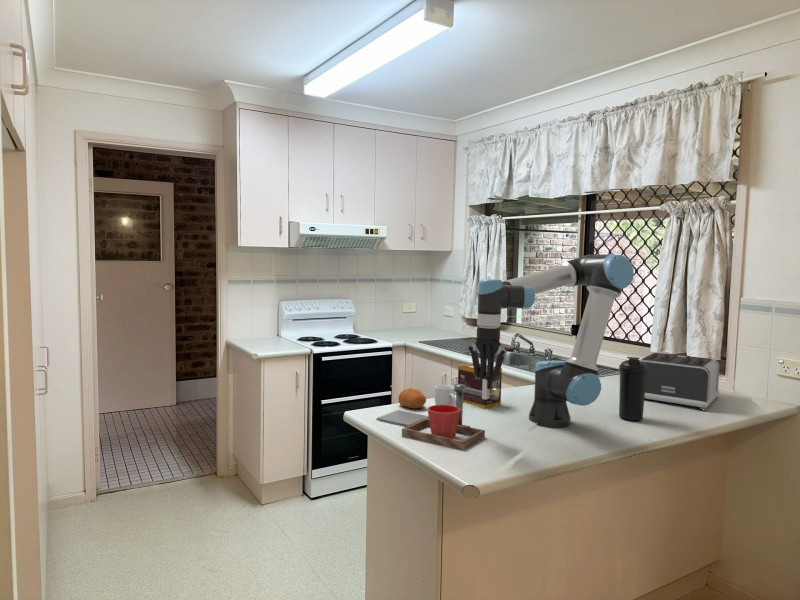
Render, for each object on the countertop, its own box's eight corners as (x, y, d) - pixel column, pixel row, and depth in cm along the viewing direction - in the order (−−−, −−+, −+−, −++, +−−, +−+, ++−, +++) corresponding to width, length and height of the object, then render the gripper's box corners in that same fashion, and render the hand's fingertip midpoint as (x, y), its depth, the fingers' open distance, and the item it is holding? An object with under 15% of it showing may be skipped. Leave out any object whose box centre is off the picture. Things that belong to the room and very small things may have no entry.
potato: (413, 403, 230) (414, 385, 229) (430, 409, 221) (431, 391, 220) (395, 406, 225) (395, 388, 224) (412, 413, 215) (412, 393, 215)
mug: (462, 412, 217) (463, 389, 216) (446, 415, 213) (447, 391, 212) (445, 406, 226) (446, 383, 225) (430, 409, 222) (430, 385, 221)
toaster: (720, 395, 257) (722, 357, 256) (707, 411, 229) (709, 368, 227) (649, 385, 276) (651, 349, 274) (628, 398, 247) (630, 358, 246)
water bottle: (643, 415, 220) (647, 357, 218) (646, 422, 210) (649, 361, 208) (616, 412, 223) (619, 355, 221) (617, 419, 213) (620, 359, 212)
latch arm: (459, 389, 198) (459, 378, 198) (502, 400, 183) (502, 389, 183) (451, 390, 195) (451, 380, 195) (494, 401, 181) (494, 390, 180)
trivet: (429, 418, 208) (429, 416, 208) (408, 427, 197) (408, 424, 197) (397, 412, 216) (397, 410, 216) (376, 420, 205) (376, 418, 204)
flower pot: (424, 432, 192) (425, 404, 191) (456, 431, 193) (457, 404, 192) (429, 442, 181) (429, 412, 180) (462, 441, 182) (463, 412, 181)
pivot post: (470, 428, 197) (471, 392, 196) (462, 432, 192) (463, 395, 191) (455, 425, 200) (456, 389, 199) (446, 429, 195) (447, 392, 194)
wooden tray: (484, 437, 187) (484, 430, 187) (463, 450, 174) (463, 442, 174) (425, 425, 200) (425, 418, 199) (401, 435, 187) (401, 428, 187)
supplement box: (485, 409, 223) (486, 370, 222) (456, 401, 235) (457, 364, 234) (501, 405, 230) (502, 368, 229) (473, 398, 241) (474, 362, 240)
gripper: (511, 327, 181) (508, 399, 182) (475, 324, 188) (472, 393, 190) (502, 329, 175) (499, 404, 176) (465, 325, 182) (462, 397, 183)
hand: (485, 398), depth 183 cm, fingers closed
